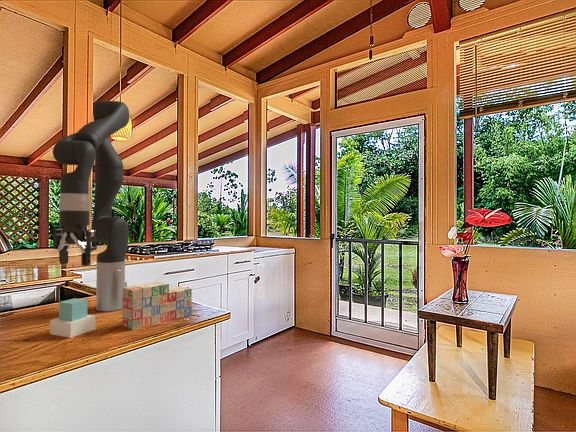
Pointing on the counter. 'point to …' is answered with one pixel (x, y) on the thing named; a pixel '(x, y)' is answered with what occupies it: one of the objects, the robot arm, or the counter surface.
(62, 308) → the teal cube
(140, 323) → the stack of blocks
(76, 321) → the white square block
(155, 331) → the counter surface
